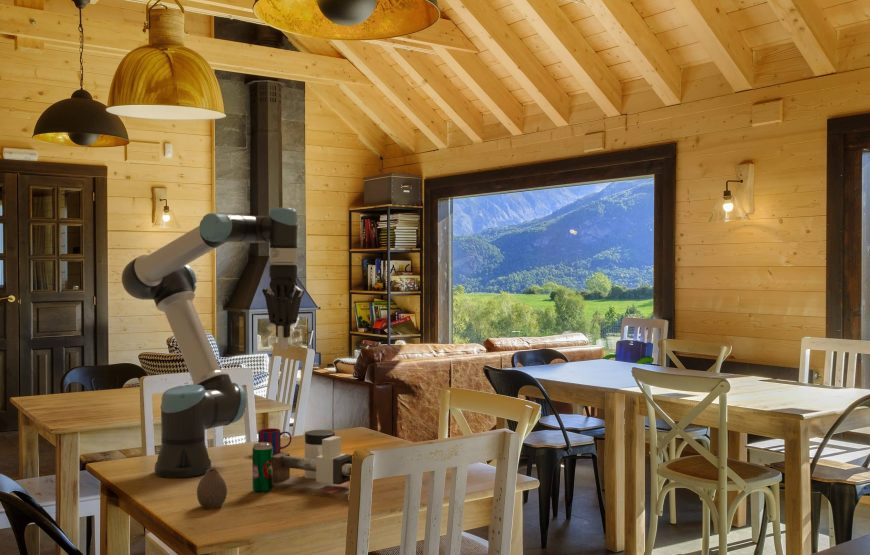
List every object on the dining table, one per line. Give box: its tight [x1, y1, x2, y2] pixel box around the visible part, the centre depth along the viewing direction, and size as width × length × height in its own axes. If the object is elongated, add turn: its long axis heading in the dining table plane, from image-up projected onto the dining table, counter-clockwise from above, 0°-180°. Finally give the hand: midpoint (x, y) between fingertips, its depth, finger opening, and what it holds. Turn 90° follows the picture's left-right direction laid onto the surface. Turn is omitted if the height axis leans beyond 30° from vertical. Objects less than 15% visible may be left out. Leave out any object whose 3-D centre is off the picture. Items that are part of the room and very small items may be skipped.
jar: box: [304, 429, 336, 479], centre depth 231 cm, size 9×8×12 cm
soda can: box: [251, 442, 274, 494], centre depth 216 cm, size 5×5×12 cm
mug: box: [257, 428, 292, 455], centre depth 261 cm, size 7×10×7 cm
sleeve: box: [316, 435, 347, 484], centre depth 216 cm, size 5×6×11 cm
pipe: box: [280, 455, 351, 476], centre depth 218 cm, size 24×3×3 cm, turn 63°
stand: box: [272, 452, 351, 501], centre depth 218 cm, size 26×10×8 cm, turn 63°
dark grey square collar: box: [333, 453, 354, 485], centre depth 215 cm, size 2×6×6 cm, turn 153°
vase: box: [196, 468, 228, 510], centre depth 202 cm, size 7×7×9 cm
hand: (282, 349), depth 235 cm, fingers closed
